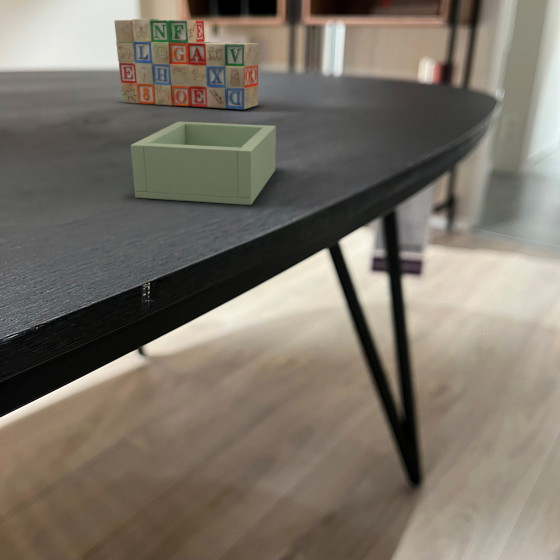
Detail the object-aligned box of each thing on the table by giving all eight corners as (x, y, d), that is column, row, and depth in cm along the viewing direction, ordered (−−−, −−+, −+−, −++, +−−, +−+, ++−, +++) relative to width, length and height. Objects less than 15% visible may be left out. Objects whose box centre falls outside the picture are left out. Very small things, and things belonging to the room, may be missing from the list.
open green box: (135, 197, 43) (130, 144, 42) (180, 165, 53) (177, 121, 52) (251, 205, 42) (251, 150, 40) (275, 170, 52) (276, 125, 50)
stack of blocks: (259, 105, 91) (259, 21, 86) (244, 111, 85) (243, 20, 80) (141, 98, 97) (135, 18, 92) (121, 102, 92) (113, 18, 86)
